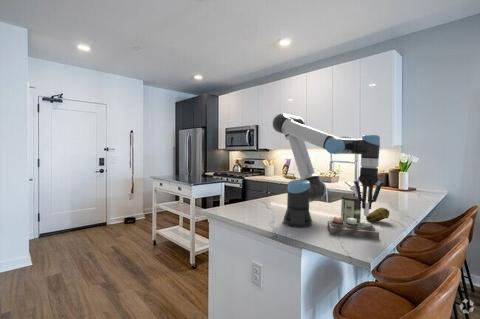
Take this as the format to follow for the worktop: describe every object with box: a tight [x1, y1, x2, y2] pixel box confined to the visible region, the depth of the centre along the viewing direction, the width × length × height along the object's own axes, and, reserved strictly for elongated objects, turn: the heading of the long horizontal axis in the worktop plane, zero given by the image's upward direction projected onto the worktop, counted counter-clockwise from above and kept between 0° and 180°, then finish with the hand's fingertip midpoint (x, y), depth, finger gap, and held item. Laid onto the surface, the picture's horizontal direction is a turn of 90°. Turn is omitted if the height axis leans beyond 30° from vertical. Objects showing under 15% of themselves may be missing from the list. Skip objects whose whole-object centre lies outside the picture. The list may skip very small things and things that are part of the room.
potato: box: [365, 207, 390, 223], centre depth 136 cm, size 8×13×8 cm, turn 81°
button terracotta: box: [332, 216, 343, 223], centre depth 119 cm, size 4×4×2 cm
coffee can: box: [340, 194, 362, 223], centre depth 135 cm, size 10×10×14 cm
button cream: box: [347, 218, 357, 224], centre depth 117 cm, size 4×4×2 cm
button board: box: [327, 219, 380, 240], centre depth 118 cm, size 21×12×4 cm, turn 76°
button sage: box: [361, 221, 372, 227], centre depth 116 cm, size 4×4×2 cm
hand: (365, 215), depth 116 cm, fingers closed
